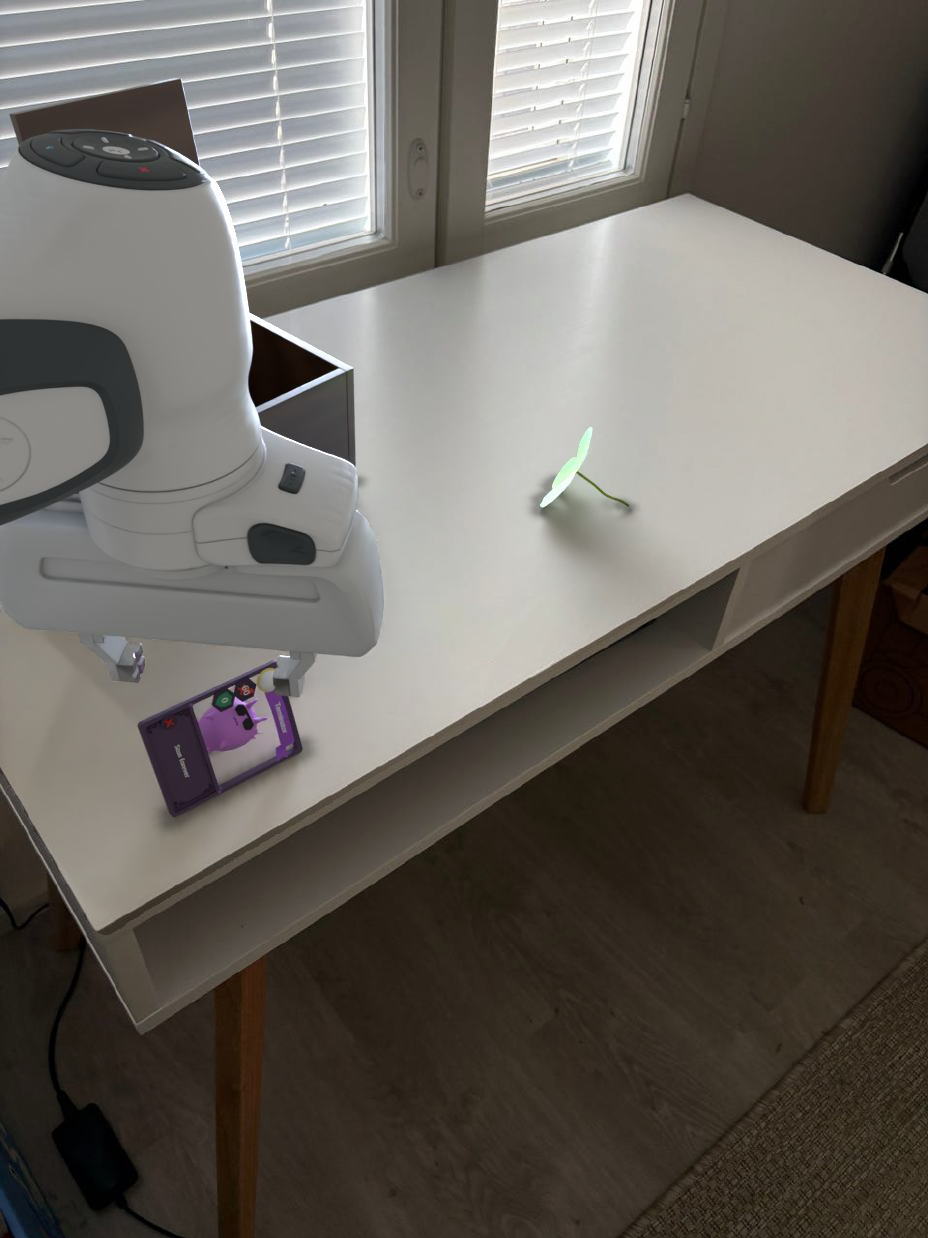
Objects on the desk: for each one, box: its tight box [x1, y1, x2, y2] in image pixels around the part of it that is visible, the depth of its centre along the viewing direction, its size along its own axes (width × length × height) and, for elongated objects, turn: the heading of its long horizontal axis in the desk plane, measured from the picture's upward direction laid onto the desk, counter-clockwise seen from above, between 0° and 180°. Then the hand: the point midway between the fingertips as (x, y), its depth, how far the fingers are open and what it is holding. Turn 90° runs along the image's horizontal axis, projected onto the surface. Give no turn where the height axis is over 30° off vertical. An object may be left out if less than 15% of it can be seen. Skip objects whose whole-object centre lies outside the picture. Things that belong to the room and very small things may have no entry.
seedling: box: [539, 426, 630, 508], centre depth 85 cm, size 7×8×7 cm
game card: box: [136, 659, 304, 818], centre depth 62 cm, size 7×5×9 cm
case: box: [248, 312, 357, 469], centre depth 82 cm, size 16×14×11 cm
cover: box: [9, 77, 201, 168], centre depth 77 cm, size 16×14×1 cm
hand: (209, 681), depth 59 cm, fingers open, 8 cm apart
